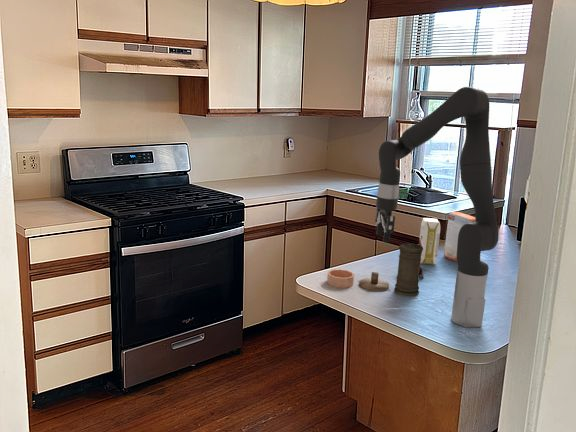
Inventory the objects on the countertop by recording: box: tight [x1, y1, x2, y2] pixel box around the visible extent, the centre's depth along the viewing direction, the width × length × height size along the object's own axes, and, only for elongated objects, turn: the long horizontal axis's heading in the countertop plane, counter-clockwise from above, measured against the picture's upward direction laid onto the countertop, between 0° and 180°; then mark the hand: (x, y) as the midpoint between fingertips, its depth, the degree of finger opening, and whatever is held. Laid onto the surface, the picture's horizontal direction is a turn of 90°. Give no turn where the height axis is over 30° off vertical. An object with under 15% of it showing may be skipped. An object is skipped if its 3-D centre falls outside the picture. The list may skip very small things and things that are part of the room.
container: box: [393, 242, 423, 297], centre depth 195 cm, size 9×9×18 cm
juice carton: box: [418, 217, 441, 266], centre depth 232 cm, size 8×9×19 cm
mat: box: [357, 280, 392, 293], centre depth 201 cm, size 11×9×1 cm
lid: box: [358, 271, 390, 292], centre depth 201 cm, size 11×11×5 cm
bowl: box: [326, 268, 355, 289], centre depth 202 cm, size 10×10×4 cm
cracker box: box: [443, 211, 476, 263], centre depth 237 cm, size 14×6×21 cm, turn 22°
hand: (382, 238), depth 196 cm, fingers open, 8 cm apart
